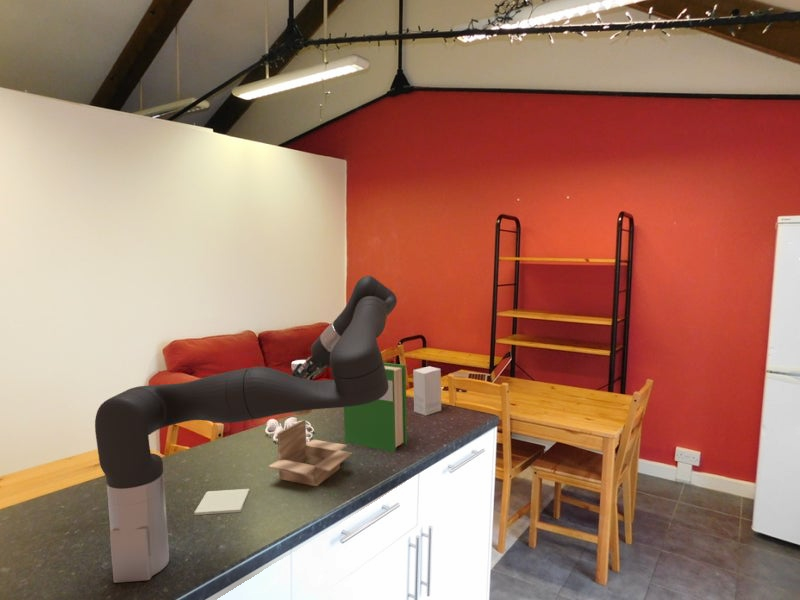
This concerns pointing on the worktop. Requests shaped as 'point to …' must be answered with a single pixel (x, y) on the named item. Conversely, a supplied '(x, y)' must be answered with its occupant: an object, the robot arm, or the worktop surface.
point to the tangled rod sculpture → (273, 425)
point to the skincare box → (427, 390)
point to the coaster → (222, 502)
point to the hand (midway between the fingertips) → (295, 386)
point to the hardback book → (381, 415)
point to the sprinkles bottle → (294, 365)
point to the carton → (307, 456)
